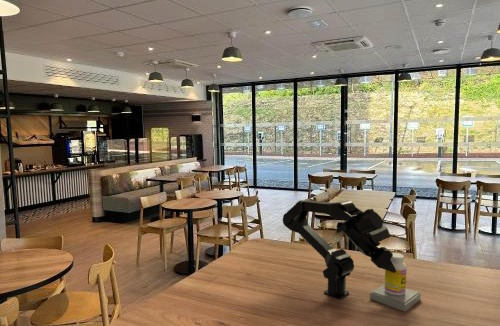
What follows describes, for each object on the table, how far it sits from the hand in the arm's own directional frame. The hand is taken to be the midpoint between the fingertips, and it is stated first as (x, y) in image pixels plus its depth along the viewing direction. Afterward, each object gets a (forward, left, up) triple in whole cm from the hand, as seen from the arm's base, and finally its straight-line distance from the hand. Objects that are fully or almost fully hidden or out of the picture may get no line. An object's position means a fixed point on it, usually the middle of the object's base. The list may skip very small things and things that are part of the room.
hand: (388, 266), depth 122 cm
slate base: (+1, -2, -11) cm, 11 cm away
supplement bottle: (+1, -2, -9) cm, 9 cm away
